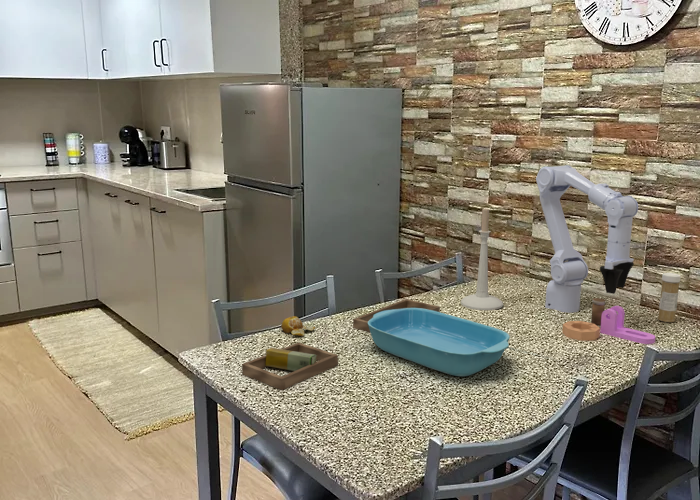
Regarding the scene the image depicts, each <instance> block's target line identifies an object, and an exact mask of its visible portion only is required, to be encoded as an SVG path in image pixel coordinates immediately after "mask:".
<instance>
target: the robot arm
mask: <svg viewBox="0 0 700 500" xmlns="http://www.w3.org/2000/svg"><path fill="white" fill-rule="evenodd" d="M535 181H536V184H537V188H538V191H539V201H540V205H541V209H542V212H543V215H544V219H545V222H546V226H547V229H548V233H549V236H550V240H551V244H552V249H553V251H554V254H553V256H552V258H551V259H550V260H549V263H550V276H551V280H550V281H549V282H548V283H547V286H546V289H545V290H546V291H545V305H544V307H545V309H548V310H549V309H550V310H555V311H558V312H563V313H577V312H579V311H580V307H581V292H582V284H583V283H584V280H585V279H586V278H587V277H588V275H589V266H588V265H587V263H586V261H585V260H584V258H583V255H582V253H580V252H579V251H578V250H577V249H575V248H574V245H573V242H572V238H571V235H570V231H569V228H568V224H567V220H566V218H565V217H566V216H565V214H564V210H563V207H562V203H561V197H562V195H563V196H564V194H565V193H566V192H567V190H569V188H570V187H572V188H574V189H576V190H578V191H580V192H582V193H583V194H585V195H588V196H587V197H588V200H589V202H591V203H592V204H594V205H595V206H597V207H598V208H600V209H602V210H604V212H605V215H606V216H607V223H608V233H607V243H606V244H607V246H606V256H605V261H604V265H600V266H599V271H600V273H601V275H602V278H603V282H604V289H605V292H606V293H607V294H613V295H614V294H615V293H616V291H617V288H622V289H623V288H625V285H626V282H627V278H628V276H629V273H630V271H631V269H632V268H633V267H634V263H635V262H634V261H635V258H632V257H630V254H631V242H632V241H631V240H632V231H633V230H632V228H633V218H634V217H635V216H636V215H637V214H638V211H639V204H638V201H637V200H636V198H634V197H633V195H625V196H624V195H622V192H620V191H615V190H614V189H612V188H611V187H610V185H609V184H608V183H597V184H595V183H594V182H593V181H591V180H589V179H588V178H587V177H586V176H584V175H582V174H581V173H579V172H578V170H577V168H575V167H572V166H571V165H568V164H565V165H555V166H548V165H547V166H546V165H545V166H543V167H541V168H540V169H539V171H538V172H537V175H536V177H535Z"/></svg>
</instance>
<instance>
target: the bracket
mask: <svg viewBox="0 0 700 500" xmlns="http://www.w3.org/2000/svg"><path fill="white" fill-rule="evenodd" d="M625 314H626V313H625V309H624V307H622V306H620V305H614V306H611V307H610V308H607V309H605V310H604V311H603V312H602V316H601V326H600V327H599V328H600V334H603V335H606V336H611V337H615V338H619V339H622V340H627V341H630V342H635V343H639V344H644V345H653V344H655V343H656V335H655V334H652V333H649V332H645V331H642V330H639V329H638V330H637V329H633V328H628V327H625V326H624V324H625V316H626V315H625Z"/></svg>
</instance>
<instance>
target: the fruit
mask: <svg viewBox="0 0 700 500" xmlns="http://www.w3.org/2000/svg"><path fill="white" fill-rule="evenodd" d="M280 328H281V330H282V331H283V333H285V334H287V333H288V334H290V333H291V336H300V337H301V336H302V337H303V336H305V330H308V331H313V330H315V329H316V327H315V326H306V325H303V322H302V320H301V319H300V318H299V317H298V316H295V315H293V316H289V317H286V318H284V320H282V322H281V326H280Z"/></svg>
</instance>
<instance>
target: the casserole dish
mask: <svg viewBox="0 0 700 500" xmlns="http://www.w3.org/2000/svg"><path fill="white" fill-rule="evenodd" d="M368 326H369V329H370V332H369V333H370V335H371V338H372V340H373V342H374V344H375V345H376V346H377V347H378V348H380V350H382V351H384V352H385V353H388V354H390V355H393V356H395V357H398V358H401V359H404V360H406V361H409V362H412V363H415V364H418V365H420V366H423V367H425V368H428V369H432V370H435V371H438V372H440V373H444V374H447V375H450V376H454V377H468V376H471V375H474V374H476V373H479V372H481V371H482V370H484V369H487V368H488V367H490V366H492V365H493V364H495V363H497V362H498V361H499V360H500V359H501V357H502V356H503V354H504V352H505V350H506V349H508V348H509V346H510V344H509V340H510V338H511V336H510V334H509V333H508V332H506V331H504V330H502V329H499V328H497V327H494V326H489V325H488V324H483V323H479V322H476V321H473V320H469V319H466V318H461V317H458V316H454V315H452V314H447V313H443V312H441V311H440V312H437V311H433V310H428V309H422V308H404V309H393V310H386V311H381V312H379V313H376V314H374V315H373V318H372V319H370V320H369V321H368Z"/></svg>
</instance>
